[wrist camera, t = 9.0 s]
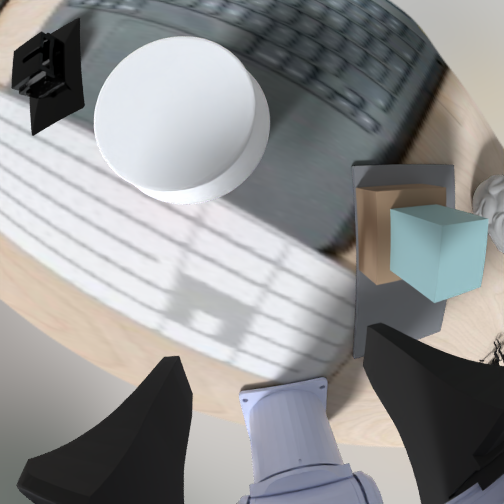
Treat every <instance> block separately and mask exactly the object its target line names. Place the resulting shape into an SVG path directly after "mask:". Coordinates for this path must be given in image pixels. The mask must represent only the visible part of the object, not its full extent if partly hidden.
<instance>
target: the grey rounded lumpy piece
mask: <svg viewBox="0 0 504 504" xmlns="http://www.w3.org/2000/svg"><path fill="white" fill-rule="evenodd" d="M472 206H473V213H474V215H478V216H481V217H484V218H488V219H489V220H488V234H489V235H490V237H491V239H492V241H493V242H494V244H495V245H496V247H497V249H498V250H499V251H500V252H502V253H504V175H492V176H490V177H489V178H488V179H487V180H485V181H483V182H482V183H481V184H480V185H479V186H478V187H477V189H476V190H475V193H474V196H473V202H472Z"/></svg>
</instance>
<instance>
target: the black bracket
mask: <svg viewBox="0 0 504 504" xmlns="http://www.w3.org/2000/svg"><path fill="white" fill-rule="evenodd" d="M12 89H15V90H19V94H21V95H25V96H29V97H30V117H31V130H32V136H34V135H35V134H37V133H39V132H40V131H42V130H44V129H45V128H47V127H49V126H50V125H52V124H54V123H55V122H57V121H59V120H61V119H63V118H64V117H66V116H68V115H70V114H72V113H74V112H76V111H78V110H80V109H82V108H83V107H84V106H85V104H84V95H83V85H82V74H81V58H80V18H78V19H76V20H74V21H72V22H70V23H68V24H67V25H65V26H63V27H61V28H60V29H58V30H56V31H55V32H53V33H51V34H50V33H47V34H45V33H43V32H40V33H39V34H37V35H36V36H34V37H33V38H31V39H30V40H29V41H27V42H26V43H24V44H23V45H22V46H20V47H19V48H18V49H16V50H15V51H14V57H13V69H12Z"/></svg>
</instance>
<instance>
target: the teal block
mask: <svg viewBox="0 0 504 504" xmlns="http://www.w3.org/2000/svg"><path fill="white" fill-rule="evenodd" d="M390 216H391V253H390V271H392V272H393V273H395V274H396V275H397V276H399V277H400V278H401V279H403V280H404V281H406V282H407V283H408V284H410V285H411V286H412V287H414V288H415V289H416V290H418V291H419V292H420V293H422V294H423V295H424V296H426V297H427V298H428V299H430V300H431V301H432V302H434V303H436V302H439V301H442V300H445V299H448V298H451V297H454V296H457V295H460V294H463V293H465V292H468V291H471V290H474V289H476V288H479V287H481V282H482V276H483V269H484V262H485V255H486V246H487V235H488V220H489V219H488V218H484V217H481V216H478V215H474V214H471V213H467V212H464V211H460V210H456V209H453V208H449V207H445V206H441V205H437V204H435V205H424V206H414V207H404V208H394V209H390Z"/></svg>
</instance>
